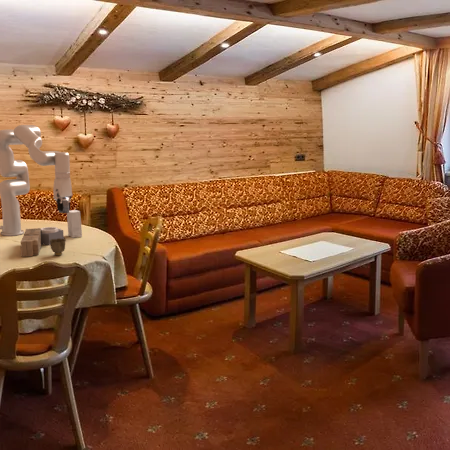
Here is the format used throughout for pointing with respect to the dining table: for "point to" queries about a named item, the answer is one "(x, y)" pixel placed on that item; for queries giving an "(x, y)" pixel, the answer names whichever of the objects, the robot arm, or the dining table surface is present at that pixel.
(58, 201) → the robot arm
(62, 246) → the cup
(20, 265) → the dining table surface
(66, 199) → the lens
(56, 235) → the camera body
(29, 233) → the block tower
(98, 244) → the dining table surface
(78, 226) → the skincare box
